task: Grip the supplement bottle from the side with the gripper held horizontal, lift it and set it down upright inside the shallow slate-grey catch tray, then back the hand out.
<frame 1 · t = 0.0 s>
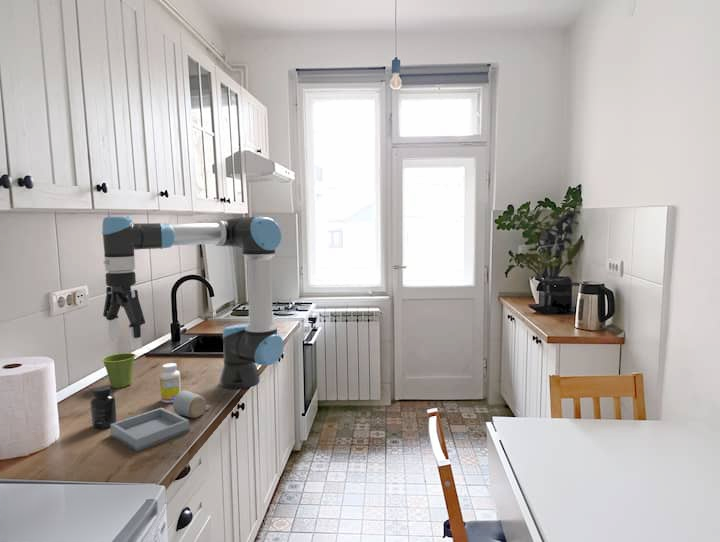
hand: (124, 345, 135), 28 cm above the table, tool pointing down, fingers open, 13 cm apart
ceramic mug: (193, 414, 155), on the table
catch tray: (150, 433, 140), on the table
supplement bottle: (104, 425, 146), on the table
plant pot: (120, 385, 182), on the table
supplement bottle 2: (171, 400, 167), on the table
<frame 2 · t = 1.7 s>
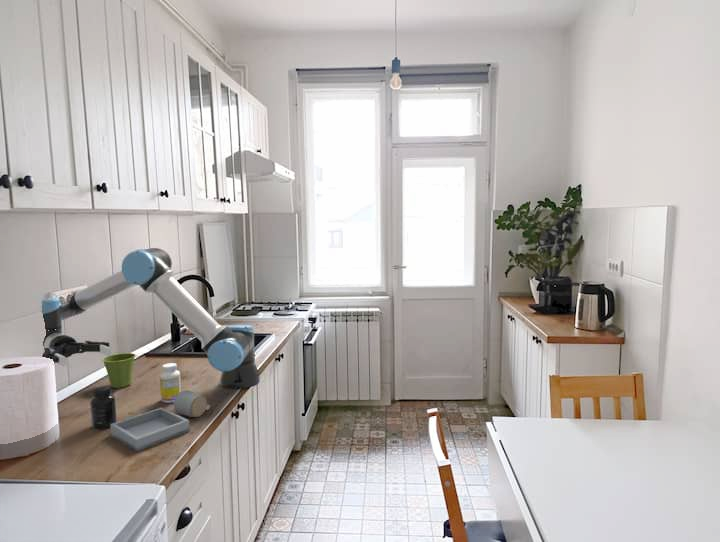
hand: (88, 356, 150), 20 cm above the table, tool horizontal, fingers open, 13 cm apart
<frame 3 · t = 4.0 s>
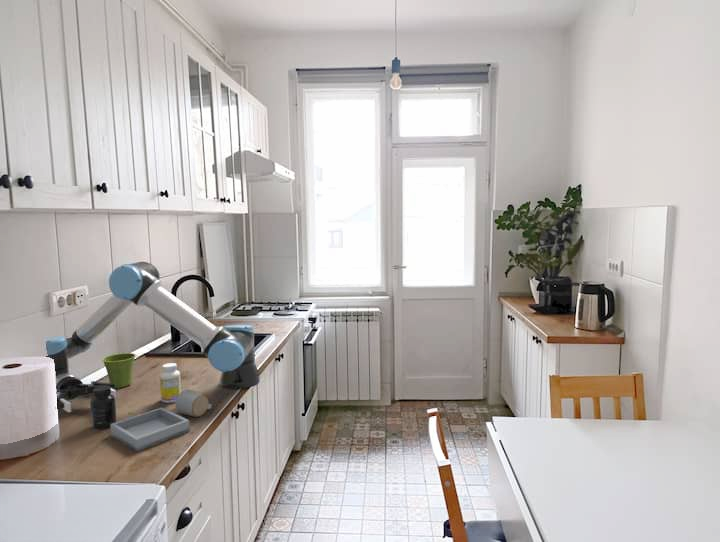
hand: (93, 401, 149), 6 cm above the table, tool horizontal, fingers open, 13 cm apart
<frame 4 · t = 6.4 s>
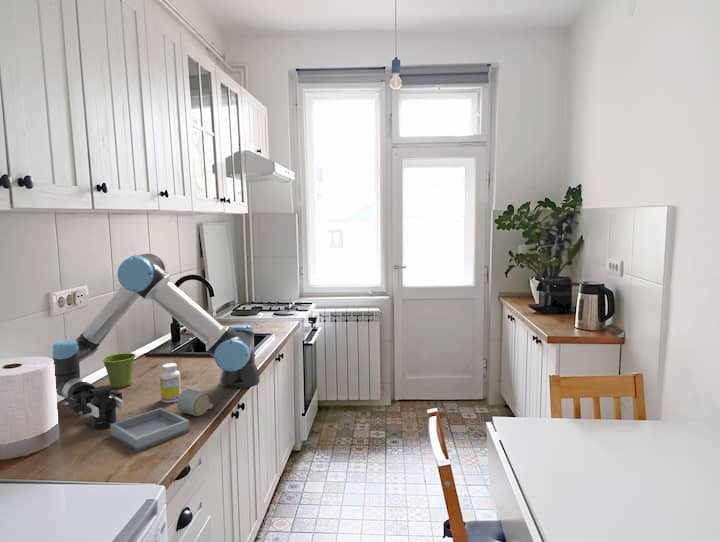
hand: (110, 409, 143), 7 cm above the table, tool horizontal, fingers closed on supplement bottle, 7 cm apart
supplement bottle: (104, 425, 146), on the table, touching gripper
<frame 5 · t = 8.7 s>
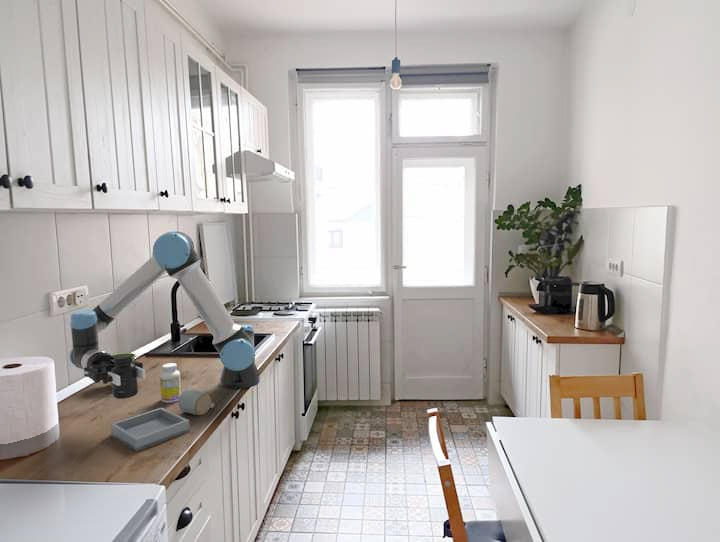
hand: (131, 377, 137), 18 cm above the table, tool horizontal, fingers closed on supplement bottle, 7 cm apart
supplement bottle: (125, 395, 141), point 11 cm above the table, touching gripper
when the fingers open (9 cm above the table, at t = 11.3 s): supplement bottle drops 2 cm, resting on catch tray.
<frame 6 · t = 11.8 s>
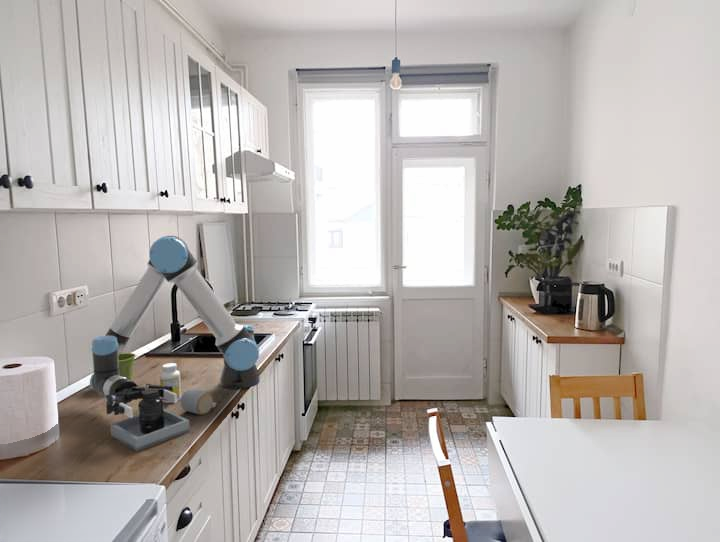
hand: (154, 405, 137), 9 cm above the table, tool horizontal, fingers open, 13 cm apart
supplement bottle: (152, 430, 141), point 1 cm above the table, touching catch tray
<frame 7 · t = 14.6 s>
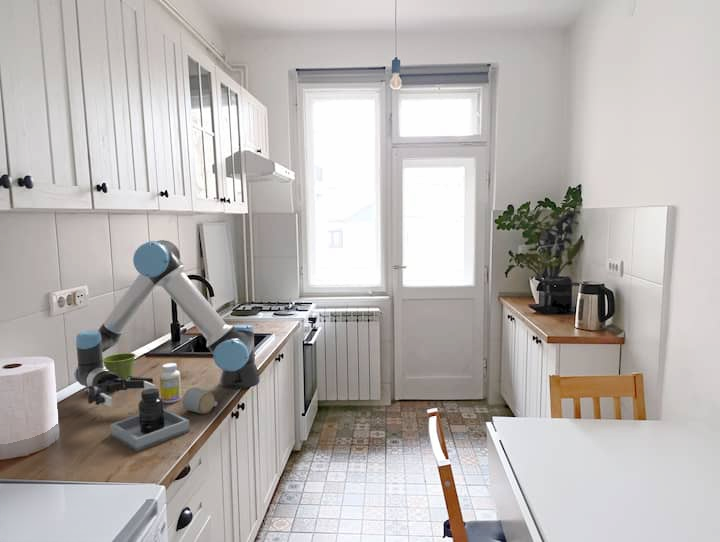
hand: (134, 395, 145), 10 cm above the table, tool horizontal, fingers open, 13 cm apart
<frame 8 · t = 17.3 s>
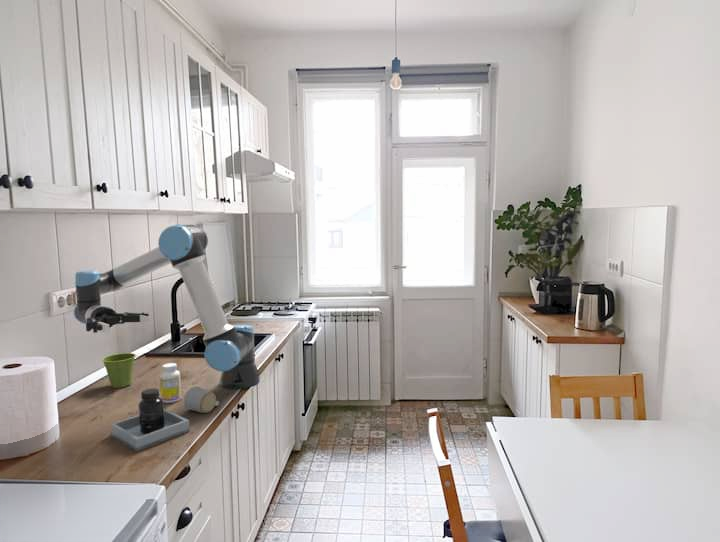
hand: (130, 325, 151), 30 cm above the table, tool horizontal, fingers open, 13 cm apart
at the end: supplement bottle inside the target area on the catch tray (0.7 cm from its centre), point 0.8 cm above the catch tray's base; supplement bottle tilted 0°; the gripper is holding nothing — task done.
